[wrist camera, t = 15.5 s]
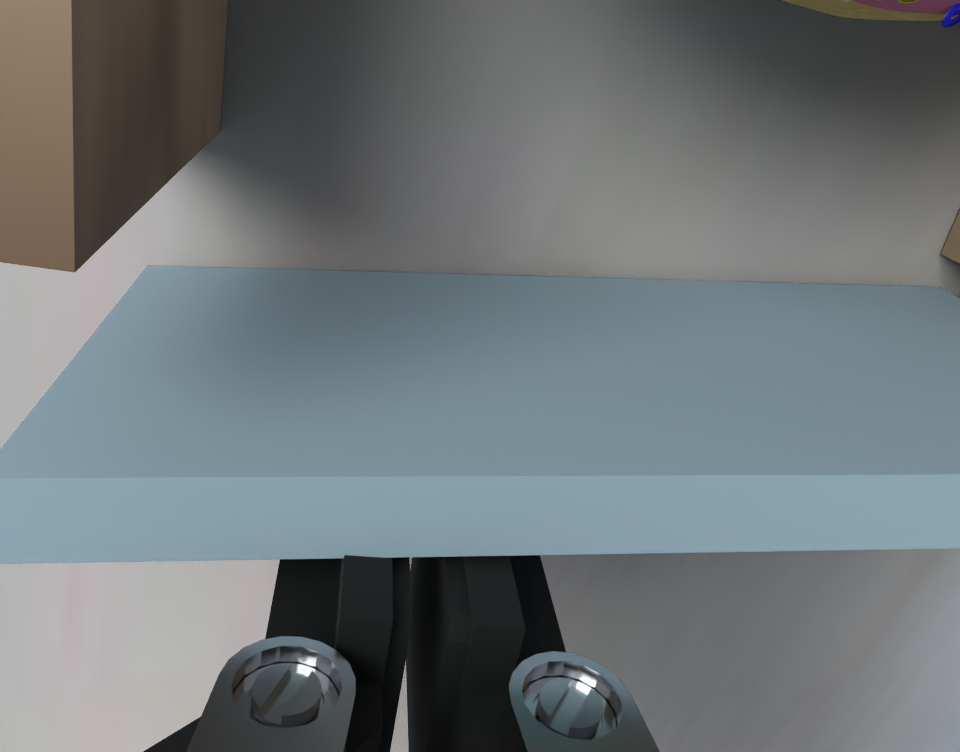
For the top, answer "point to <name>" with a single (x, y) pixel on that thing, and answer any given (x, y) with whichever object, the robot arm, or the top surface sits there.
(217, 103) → the wooden box
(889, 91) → the top surface
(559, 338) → the blue grey rectangular panel
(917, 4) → the cupcake
